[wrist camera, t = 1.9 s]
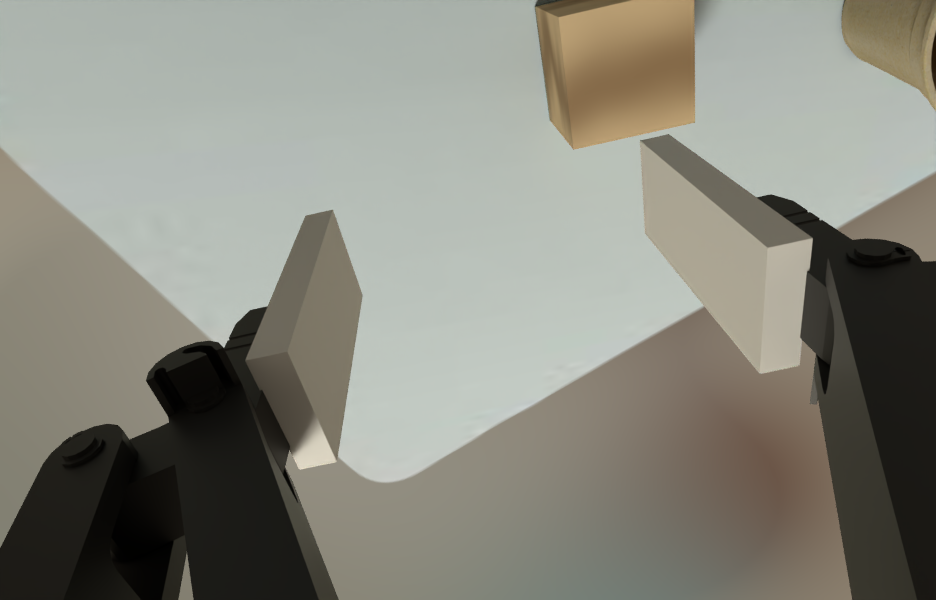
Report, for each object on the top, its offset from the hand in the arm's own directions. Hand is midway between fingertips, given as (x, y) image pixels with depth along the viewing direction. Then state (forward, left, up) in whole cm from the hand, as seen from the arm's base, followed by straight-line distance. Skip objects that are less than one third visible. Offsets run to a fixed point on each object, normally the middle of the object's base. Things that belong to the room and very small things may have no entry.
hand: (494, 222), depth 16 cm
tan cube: (0, +8, -19) cm, 21 cm away
